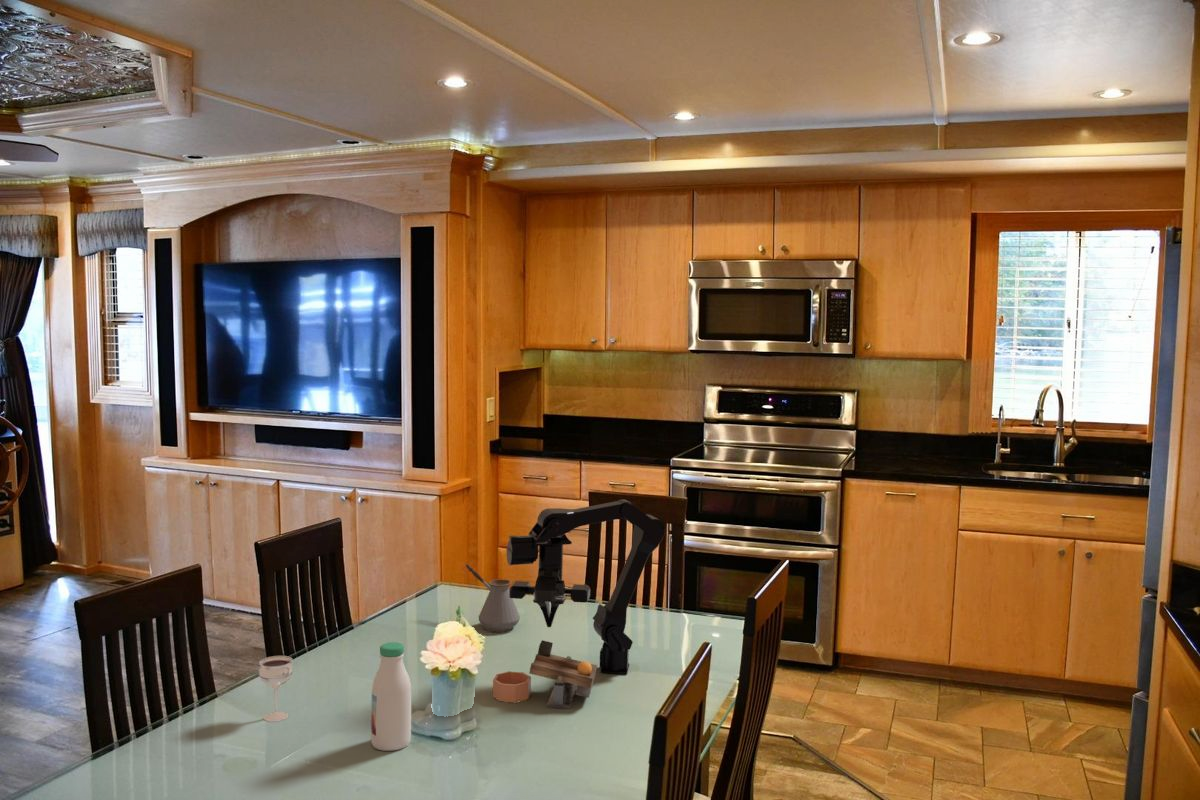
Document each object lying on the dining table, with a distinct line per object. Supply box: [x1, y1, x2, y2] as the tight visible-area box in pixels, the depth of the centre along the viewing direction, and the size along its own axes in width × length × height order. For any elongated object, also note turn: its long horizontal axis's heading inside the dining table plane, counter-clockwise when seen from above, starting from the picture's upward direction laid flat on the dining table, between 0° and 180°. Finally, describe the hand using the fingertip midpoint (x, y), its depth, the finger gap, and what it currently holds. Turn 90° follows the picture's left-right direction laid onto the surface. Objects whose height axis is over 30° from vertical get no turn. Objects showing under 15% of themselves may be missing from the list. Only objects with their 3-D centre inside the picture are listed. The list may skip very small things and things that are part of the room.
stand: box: [546, 681, 577, 710], centre depth 209 cm, size 5×15×5 cm, turn 173°
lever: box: [528, 639, 598, 698], centre depth 208 cm, size 14×14×7 cm
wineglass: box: [258, 655, 294, 723], centre depth 193 cm, size 7×7×12 cm
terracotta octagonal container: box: [492, 671, 532, 703], centre depth 208 cm, size 8×8×4 cm
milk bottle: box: [370, 641, 412, 752], centre depth 182 cm, size 8×8×20 cm
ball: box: [578, 660, 592, 676], centre depth 205 cm, size 3×3×3 cm
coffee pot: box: [462, 564, 521, 633], centre depth 258 cm, size 21×12×15 cm, turn 46°
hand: (549, 626), depth 219 cm, fingers closed
